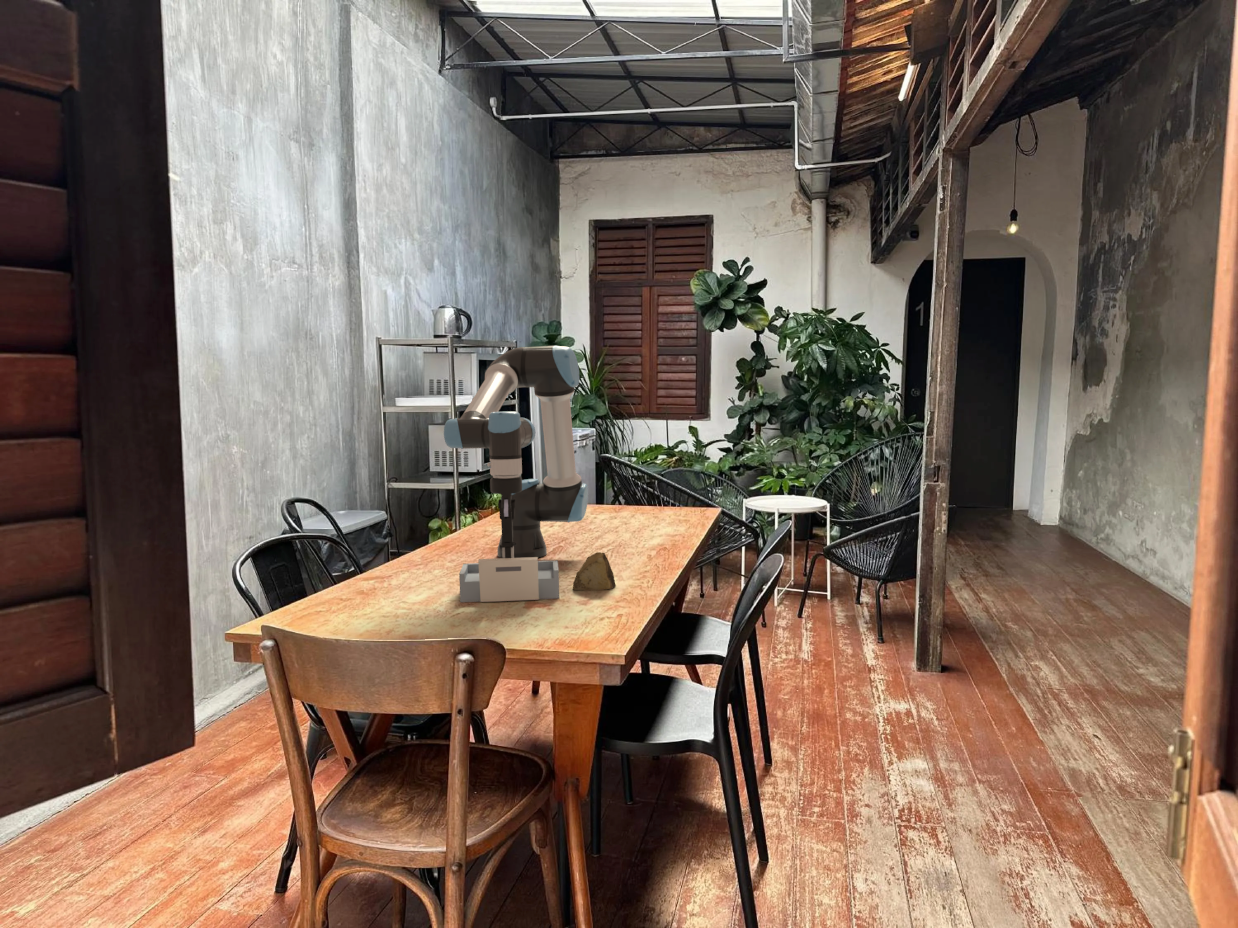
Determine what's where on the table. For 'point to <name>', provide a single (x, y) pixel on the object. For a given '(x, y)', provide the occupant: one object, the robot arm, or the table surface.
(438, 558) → the table surface
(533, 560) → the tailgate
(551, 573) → the bed
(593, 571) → the rock
